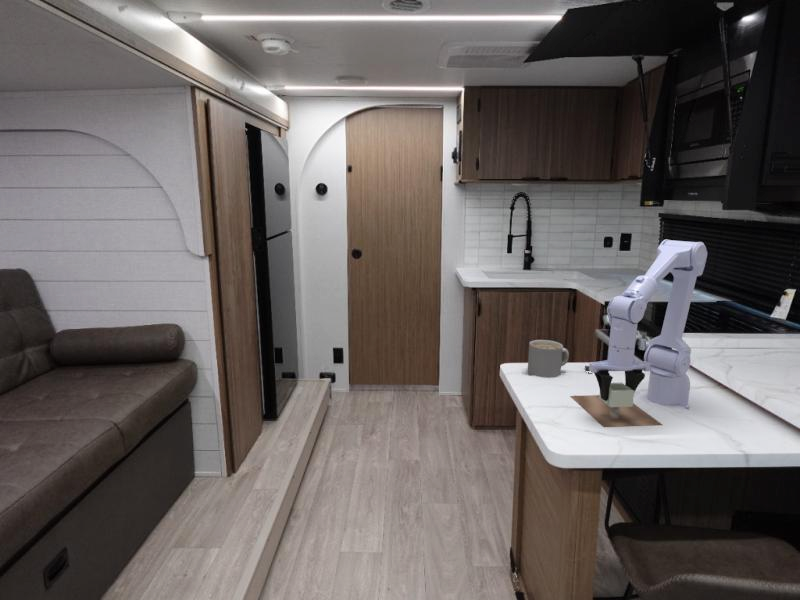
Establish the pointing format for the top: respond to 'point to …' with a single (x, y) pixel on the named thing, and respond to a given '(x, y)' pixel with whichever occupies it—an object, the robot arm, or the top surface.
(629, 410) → the post board
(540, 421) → the top surface
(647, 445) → the top surface
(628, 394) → the collar
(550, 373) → the coffee mug
